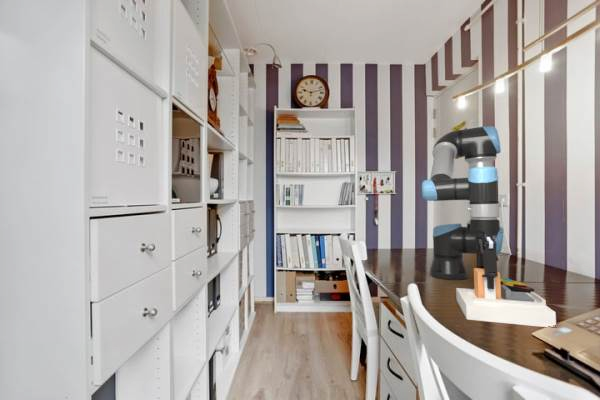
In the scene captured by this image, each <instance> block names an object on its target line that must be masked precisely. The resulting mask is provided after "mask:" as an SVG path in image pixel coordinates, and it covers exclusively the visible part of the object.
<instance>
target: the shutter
mask: <svg viewBox="0 0 600 400" xmlns="http://www.w3.org/2000/svg"><path fill="white" fill-rule="evenodd" d="M501 297H502V298H503V299H504V300H517V301H531V302H534V299H533V298H532V297H530V296H529V295H528V294H526V293H520V292H511V290H510V289H509V288H507V287H506V286H505V285H501Z"/></svg>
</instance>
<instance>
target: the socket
mask: <svg viewBox="0 0 600 400" xmlns="http://www.w3.org/2000/svg"><path fill="white" fill-rule="evenodd" d="M455 291H456V292H455V293H456V294H455V296H456V302H457V304H458V306H459V307H460V310H461V311H462V313H463V315H464V318H465V319H466V320H469V321H479V322H480V321H481V322H490V323H499V324H508V325H509V324H510V325H511V324H512V325H520V326H530V327H531V326H532V327H541V328H549V327H548V326H553V325H556V326H557V314H556V311H554V310H553V309H551V308H550V307H549V306H547V303H546V302H547V301H546V299H545V298H543V297H542V296H541V295H539V294H537V293H536V292H535V291H534V292H530V293H526V294H528V295H529V296H530V297H532V298H533V299H534V302H531V301H517V300H504V299H503V298H502V297H501V299H490V298H477V297H476V295H475V290H474V288H463V287H462V288H461V287H460V288H459V287H456V288H455ZM520 293H524V292H520Z"/></svg>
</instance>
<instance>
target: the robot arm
mask: <svg viewBox="0 0 600 400" xmlns="http://www.w3.org/2000/svg"><path fill="white" fill-rule="evenodd" d="M500 153H501V142H500V136H499V133H498V130H497V128H496V127H495V126H492V125H490V126H479V127H472V128H465V129H456V130H452V131H450V132H447V133H446V134H444V135H443V136H442V137H440V138H438V140H437V141H436V142H435V143H434V145H433V148H432V153H431V154H432V156H433V160H432V161H433V162H432V166H431V172H430V177H429V179H425V180H423V181H422V183H421V196H422V198H423V200H424V201H428V202H432V201H433V202H438V201H439V202H441V201H468V200H469V207H468V208H467V211H468V212H469V217H470V219H469V220H467V223H466V226H463V225H462V223H449V224H441V225H436V226H434V228H433V230H432V240H433V242H432V245H433V260H432V263H431V266H430V269H429V276H431V275H432V276H431V277H433V276H434V278H438V279H442V280H443V279H444V280H466V279H468V277H469V274H468V270H467V267H466V265H465V262H464V258H463V257H464V256H463V254H470V255H475V256H476V258H475V259H476V260H475V261H476V264H475V268H481V269H484V272H485V274H484V275H482V277H484V298H490V299H496V286H495V277H497V276H498V274H497V271H498V263H497V261H498V260H497V259H498V258H497V255H499V254H500V253H501V251H502V248H503V243H504V242H503V241H504V228H503V227H502V226H501V225H500V224H501V223H500V220H499V219H498V218H500V204H499V202H500V201H499V175H498V169H497V168H496V166H494V165H493V162H494V161H495V160H496V159H497V154H500ZM458 157H459V158H461V157H462V158H463V157H464V162H466V163H467V164H468V177H460V178H459V177H457V178H456V177H455V178H454V165H455V159H456V158H458Z"/></svg>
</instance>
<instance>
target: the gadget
mask: <svg viewBox="0 0 600 400" xmlns="http://www.w3.org/2000/svg"><path fill="white" fill-rule="evenodd" d="M500 284H501V285H505V286H506V287H507V288H509V289H510V290H511V292H524V293H529V294H530V292H534V293H535V288H532V287H530V286H528V285H527V284H526V283H524V282H521V281H516V280H512V279H511V278H507V277H500Z"/></svg>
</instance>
